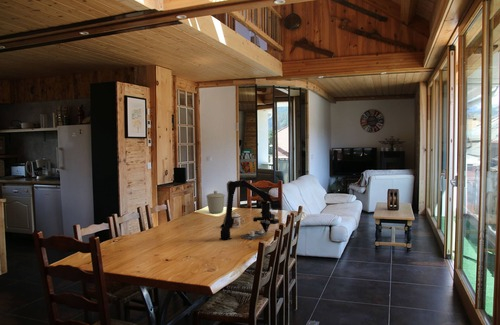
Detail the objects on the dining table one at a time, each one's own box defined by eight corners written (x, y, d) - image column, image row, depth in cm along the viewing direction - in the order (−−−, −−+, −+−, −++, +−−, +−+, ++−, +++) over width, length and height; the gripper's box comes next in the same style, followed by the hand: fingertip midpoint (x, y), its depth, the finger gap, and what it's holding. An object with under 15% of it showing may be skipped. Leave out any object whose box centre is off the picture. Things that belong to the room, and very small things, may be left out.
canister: (218, 210, 380) (217, 189, 379) (229, 212, 366) (228, 190, 365) (202, 212, 368) (202, 190, 367) (213, 215, 354) (212, 192, 353)
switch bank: (251, 239, 260) (251, 237, 260) (241, 238, 265) (241, 235, 265) (267, 234, 274) (267, 231, 274) (257, 233, 279) (257, 230, 279)
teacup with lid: (228, 228, 298) (228, 213, 297) (230, 225, 307) (230, 211, 306) (243, 228, 296) (243, 213, 296) (245, 225, 305) (245, 211, 305)
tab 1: (252, 237, 262) (252, 232, 262) (249, 236, 264) (249, 231, 264) (255, 236, 265) (255, 231, 264) (252, 235, 266) (251, 230, 266)
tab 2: (261, 234, 270) (261, 229, 270) (258, 233, 272) (257, 228, 272) (263, 233, 273) (263, 228, 272) (260, 232, 274) (260, 228, 274)
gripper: (283, 209, 269) (283, 231, 270) (261, 207, 281) (262, 228, 281) (274, 212, 260) (274, 235, 261) (252, 209, 272) (252, 231, 273)
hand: (266, 232), depth 269 cm, fingers closed
